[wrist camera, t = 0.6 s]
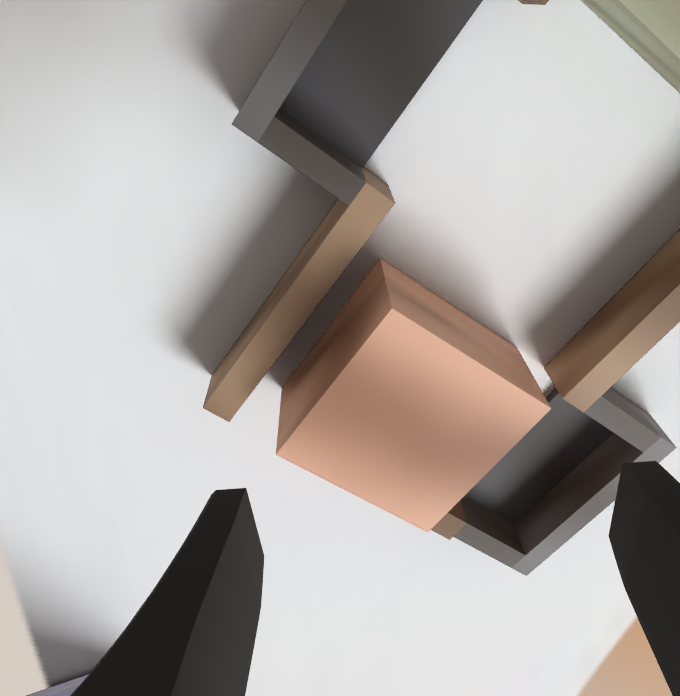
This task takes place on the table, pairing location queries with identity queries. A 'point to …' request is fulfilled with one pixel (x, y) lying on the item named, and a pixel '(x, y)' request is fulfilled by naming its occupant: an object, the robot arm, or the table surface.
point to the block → (406, 400)
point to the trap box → (375, 202)
